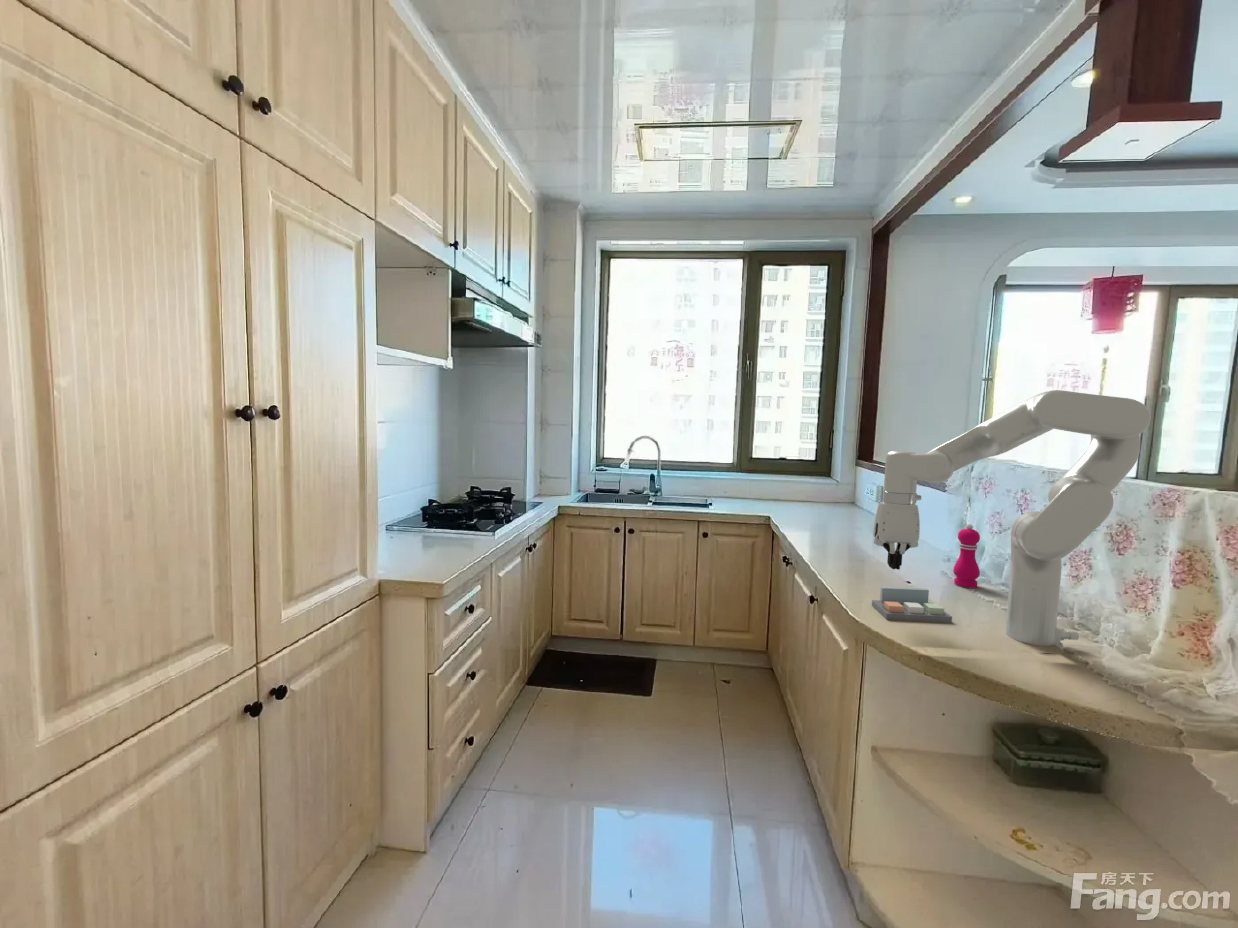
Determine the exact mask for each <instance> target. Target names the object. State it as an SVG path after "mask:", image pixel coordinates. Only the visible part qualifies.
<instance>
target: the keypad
mask: <svg viewBox="0 0 1238 928" xmlns="http://www.w3.org/2000/svg"><path fill="white" fill-rule="evenodd" d="M929 594H930V590H929V589H928V588H918V587H917V588H914V587H894V586H893V587H891V586H890V587H889V586H881V587H880V598H879V599H880V600H878V599H876V600H875V599H873V600H871V607H872V608H874V609H875V610H876V612H878V613H879V614H880V615H881V616H882V617H883V618H884V619H885V620H887V621H891V620H892V621H909V622H928V623H929V622H930V623H931V622H932V623H949V624H952V623H953V616H951V614H949V613H948V612H946V611H945V610H944V615H942V614H928V613H927V612H926V611H924V614H921V613H908V612H907V611H905V610H903V613H900V612H888V611H887V610H885V609H884V601H887V602H899V603H900V604H901V605H902V606H903V604H904V602H909V603H919V604H920V605H921V606H923V603H929ZM930 603H931V604H935V603H934V602H930Z"/></svg>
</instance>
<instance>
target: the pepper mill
mask: <svg viewBox="0 0 1238 928" xmlns="http://www.w3.org/2000/svg"><path fill="white" fill-rule="evenodd" d="M965 527H966V528H963V529H961V530H960V531H958V533H957V539H958V541H959V543H958V547H959V549H960V551H959V557H958V559H957V560H956V562H955V564H954V567H953V568H952V569H953V570H952V571H953V574H954V576H956V577H954V581H953V582H954V585H956V586H957V587H961V588H966V589H976V588H977V587H978V580H977V579H978V578H979V577H980V575H981V572H980V567H979V565H978V562H977V560H976V551H977V550H978V543H980V541H981V535H980V534H979V532H978V531H977V530H975V529H973V528H974V527H973V525H972V524H971V523H968V524H966V525H965Z"/></svg>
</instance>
